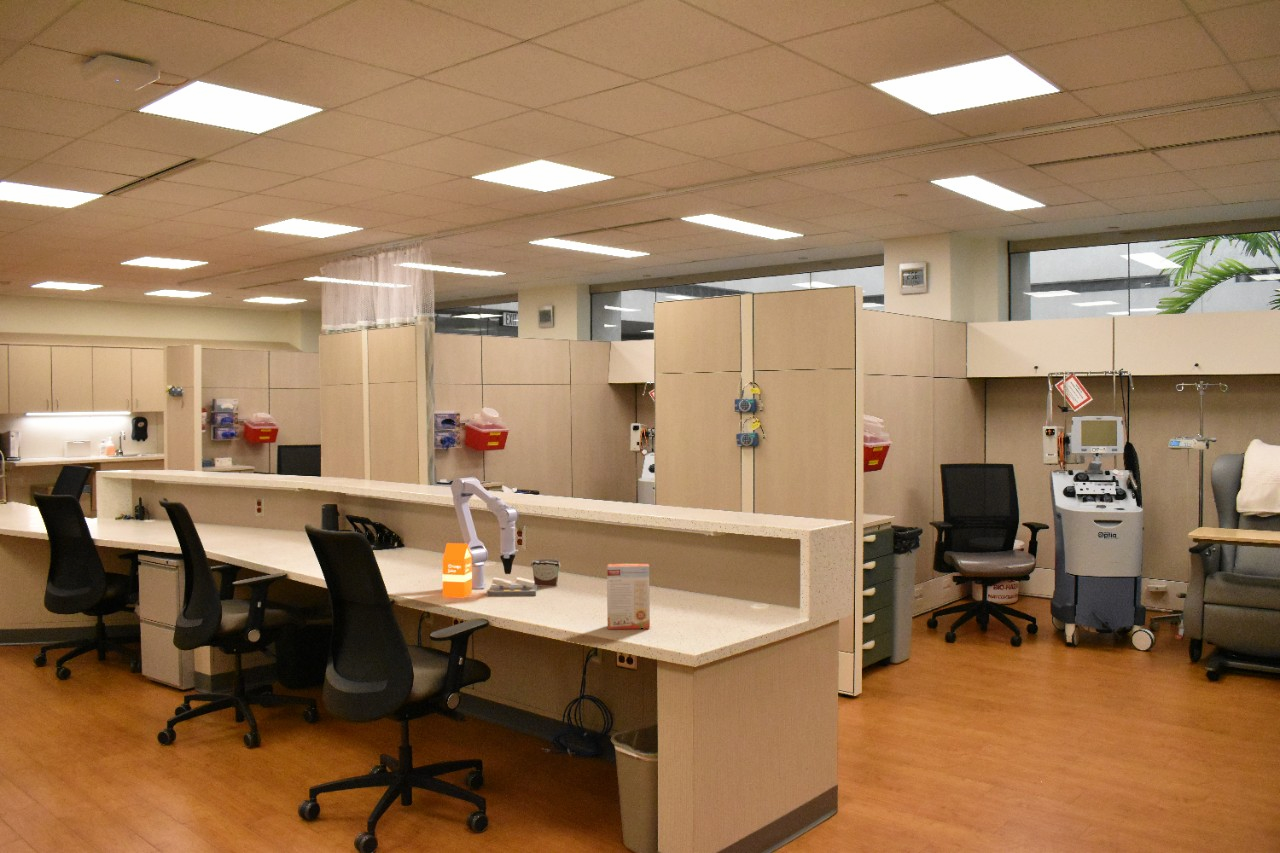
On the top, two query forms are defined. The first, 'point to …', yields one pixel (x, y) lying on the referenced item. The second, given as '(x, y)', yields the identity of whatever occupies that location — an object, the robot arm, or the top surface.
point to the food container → (545, 572)
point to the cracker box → (628, 596)
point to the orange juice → (457, 570)
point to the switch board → (512, 590)
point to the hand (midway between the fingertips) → (507, 573)
